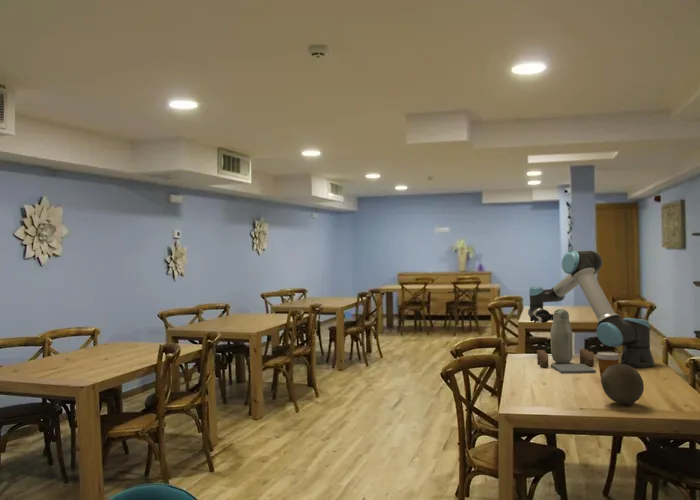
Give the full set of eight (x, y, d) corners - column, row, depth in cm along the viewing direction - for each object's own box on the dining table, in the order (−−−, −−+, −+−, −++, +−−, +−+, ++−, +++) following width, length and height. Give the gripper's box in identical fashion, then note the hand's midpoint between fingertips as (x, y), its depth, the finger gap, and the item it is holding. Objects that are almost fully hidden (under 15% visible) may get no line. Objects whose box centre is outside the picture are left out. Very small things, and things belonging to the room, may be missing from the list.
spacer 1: (547, 364, 293) (546, 350, 293) (543, 365, 290) (542, 351, 290) (540, 363, 296) (539, 349, 296) (535, 364, 293) (535, 350, 294)
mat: (583, 366, 286) (583, 363, 286) (595, 372, 270) (595, 370, 270) (550, 366, 286) (550, 364, 286) (561, 373, 270) (561, 371, 270)
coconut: (608, 398, 224) (607, 359, 224) (648, 403, 215) (646, 363, 215) (597, 406, 213) (596, 365, 213) (638, 411, 204) (637, 369, 204)
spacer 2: (550, 367, 285) (549, 353, 285) (545, 368, 283) (545, 354, 283) (542, 366, 288) (542, 352, 288) (538, 367, 286) (538, 353, 286)
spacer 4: (595, 366, 285) (594, 351, 285) (591, 367, 283) (590, 353, 283) (587, 365, 288) (587, 351, 288) (583, 366, 286) (583, 352, 286)
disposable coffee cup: (623, 383, 248) (622, 355, 248) (599, 382, 250) (598, 355, 250) (617, 378, 257) (616, 351, 257) (594, 378, 259) (594, 351, 259)
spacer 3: (589, 363, 292) (589, 349, 292) (585, 364, 290) (585, 350, 290) (582, 362, 295) (581, 348, 295) (578, 363, 293) (578, 349, 293)
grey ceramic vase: (547, 363, 295) (545, 309, 295) (562, 361, 300) (560, 307, 300) (562, 366, 286) (560, 310, 287) (577, 364, 291) (575, 309, 291)
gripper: (564, 321, 325) (577, 327, 303) (519, 322, 325) (530, 327, 304) (563, 308, 324) (577, 312, 303) (519, 309, 325) (529, 313, 304)
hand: (553, 320), depth 304 cm, fingers open, 13 cm apart
